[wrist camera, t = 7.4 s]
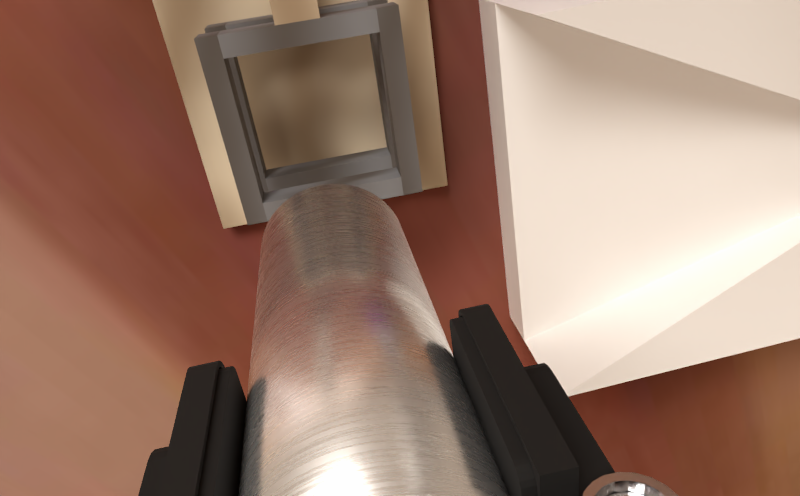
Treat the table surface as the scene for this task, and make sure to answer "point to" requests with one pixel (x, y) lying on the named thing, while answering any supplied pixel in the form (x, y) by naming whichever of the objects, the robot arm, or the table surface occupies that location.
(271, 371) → the steel tube
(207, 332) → the table surface
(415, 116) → the collar stand
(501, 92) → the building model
